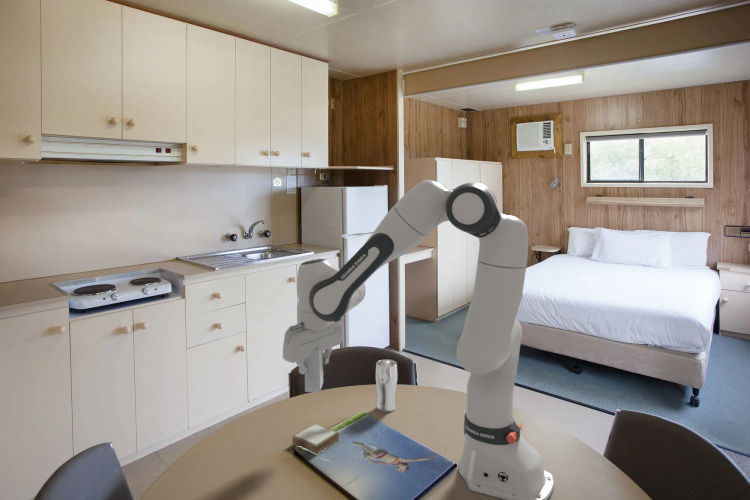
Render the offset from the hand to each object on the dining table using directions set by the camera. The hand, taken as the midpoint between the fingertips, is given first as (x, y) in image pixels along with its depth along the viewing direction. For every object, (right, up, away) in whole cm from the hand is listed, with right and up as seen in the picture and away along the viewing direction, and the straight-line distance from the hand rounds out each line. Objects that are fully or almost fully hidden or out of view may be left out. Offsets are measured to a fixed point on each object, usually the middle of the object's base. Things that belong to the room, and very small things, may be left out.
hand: (314, 368), depth 127 cm
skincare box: (0, -6, +1) cm, 6 cm away
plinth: (0, -22, +3) cm, 22 cm away
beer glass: (+20, -19, +24) cm, 36 cm away
